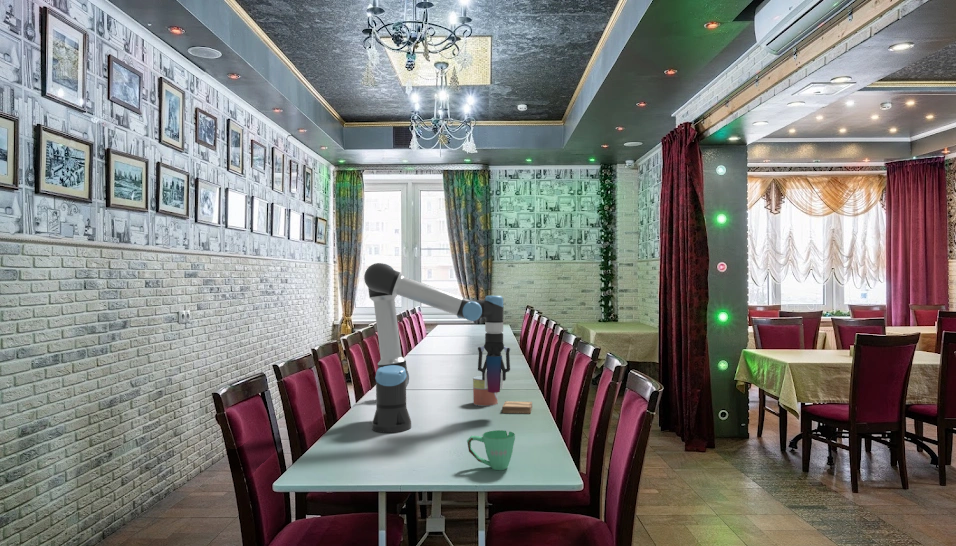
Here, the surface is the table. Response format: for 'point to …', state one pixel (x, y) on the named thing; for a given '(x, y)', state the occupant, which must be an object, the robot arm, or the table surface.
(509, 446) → the mug
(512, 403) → the board
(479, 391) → the canned food
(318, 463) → the table surface
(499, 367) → the cup
